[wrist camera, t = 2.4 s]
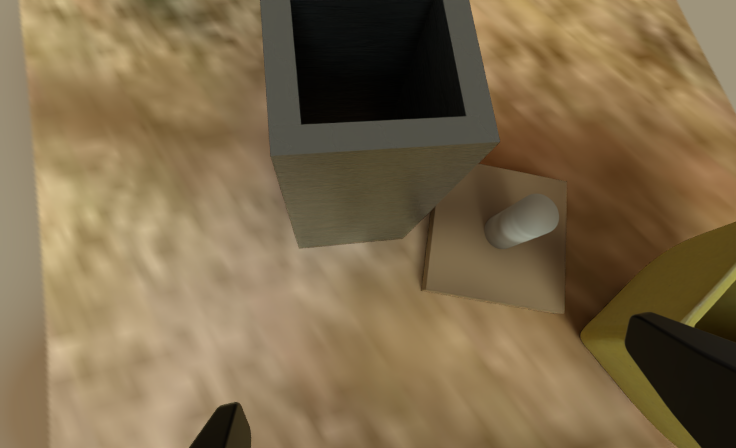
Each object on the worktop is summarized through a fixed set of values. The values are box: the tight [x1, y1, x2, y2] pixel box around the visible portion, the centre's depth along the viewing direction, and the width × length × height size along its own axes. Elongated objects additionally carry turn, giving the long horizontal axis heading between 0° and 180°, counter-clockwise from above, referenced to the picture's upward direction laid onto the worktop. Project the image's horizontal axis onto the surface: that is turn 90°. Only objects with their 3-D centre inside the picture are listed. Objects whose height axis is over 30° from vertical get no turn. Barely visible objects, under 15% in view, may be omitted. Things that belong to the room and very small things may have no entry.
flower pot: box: [580, 222, 736, 448], centre depth 18 cm, size 9×9×9 cm
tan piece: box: [421, 164, 567, 314], centre depth 20 cm, size 8×8×5 cm
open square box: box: [260, 0, 500, 249], centre depth 16 cm, size 6×6×12 cm
